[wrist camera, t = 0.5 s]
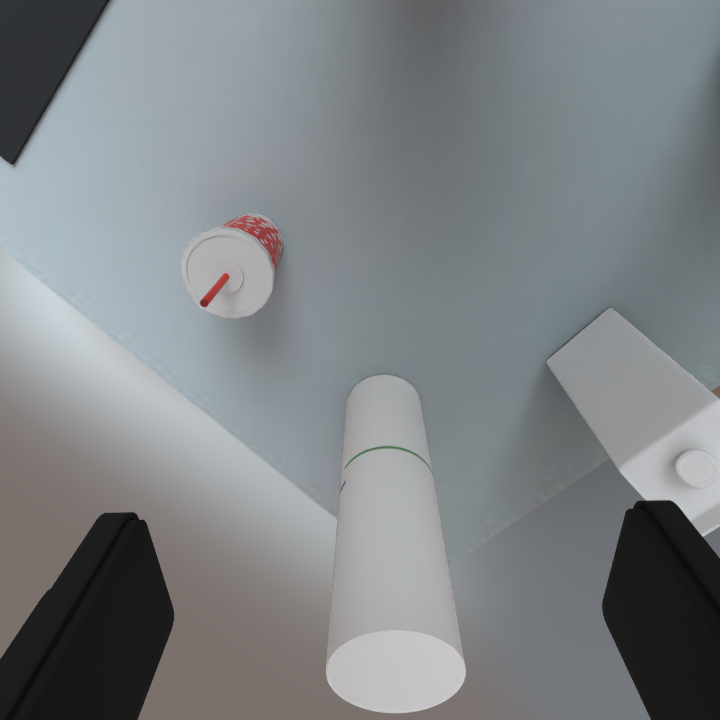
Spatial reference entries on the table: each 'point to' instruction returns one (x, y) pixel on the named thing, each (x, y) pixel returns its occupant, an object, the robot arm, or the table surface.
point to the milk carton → (646, 415)
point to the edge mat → (37, 60)
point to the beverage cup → (233, 266)
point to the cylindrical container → (390, 561)
